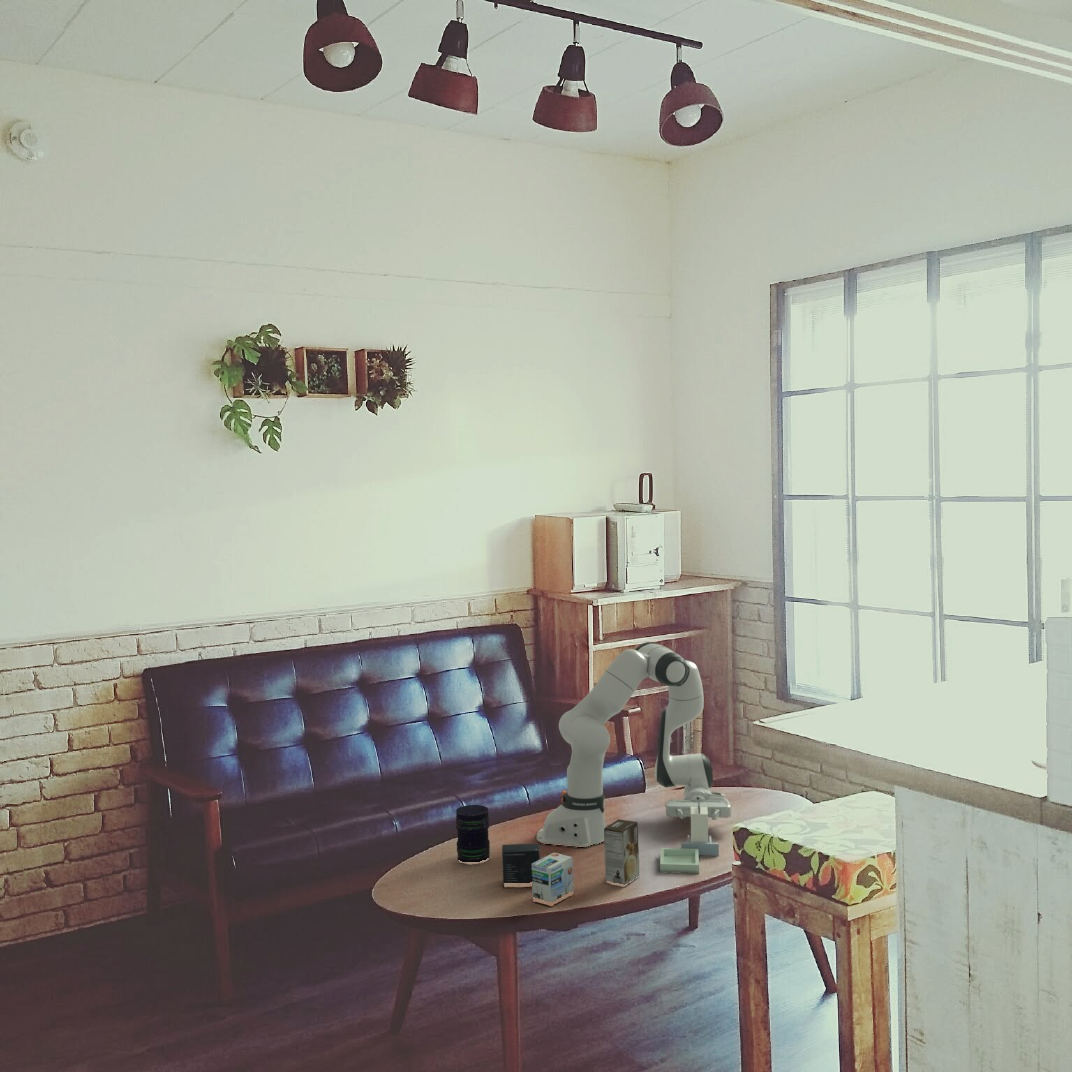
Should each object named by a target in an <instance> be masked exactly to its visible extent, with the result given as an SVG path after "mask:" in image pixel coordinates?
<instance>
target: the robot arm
mask: <svg viewBox="0 0 1072 1072" xmlns="http://www.w3.org/2000/svg"><path fill="white" fill-rule="evenodd" d="M647 678H648V679H650V680H651V681H652V680H653V681H654V682H656V683H660V684H661V685H663V686H667V687H668V704H667V706H666V708H665V709H663V710H662V711H661V714H660V719H659V728H658V736H657V737H658V739H657V740H658V741H657V756H656V761H655V765H654V777H655V780H656V782H657V783H658V784H659V785H661V786H662V787H664V788H673V787H676V786H684V790H683V799H680V798H679V799H678V798H672V799H669V800H667V802H664V807H665V815H666V817H669V818H670V817H673V818H674V817H675V818H680V820H686V818H691V807H698V802H700V807H707V810H708V818H711V820H712V821H713V820H717V819H719V818H721V819H722V818H724V819H725V818H727V819H728V818H729V819H730V817H731V816H732V809H731V808H732V807H731V803H730V801H729V800H728V799H727V798H726V795H725V793H722V792H715V791H711V790H710V789H711V787H712V786H713V784H714V774H713V767H712V763H711V760H710V758H709V757H707V755H706V754H704V753H689V754H682V755H681V754H679V755H671V754H670V749H671V748H670V747H671V737H672V734H673V733H674V731H676V730H678V728H681V727H683V726H684V725H687V724H689V723H691V722H693V721H694V720H696V719H697V718H698V717H699V716H700V715H701V713H702V712H703V710H704V708H705V707H704V705H705V701H704V699H705V698H704V688H703V683H702V678H701V673H700V672H699V668H698V666H697V664H696V663H695V662H693V661H690V660H687V659H684V658H683V656H682V655H680V654H679V653H677V652H674V651H673V650H671V649H670V648H668V646H664V645H662V644H659V643H656V642H653V641H647V642H642V643H641V644H639V645H638V646H637V647H635V648H633V649H632V648H626V649H624V650H623V651H621V652H620V653H619V655H618V656H616V657H615V659H613V661H612V662H611V663H610V664H609V666H608V667H607V668H606V670H605V671H604V672H603V674H601V676H600V677H599V679H598V681H597V682H596V683H595V685H594V686H593V687H592V689H591V690H590V691H589V693H588V694H587V695H586V696H584V698H582V699H581V700H580V701H579V702H578V703H577V704H576V705H574V707H573V708H571V709H570V710H568V711H566V712H564V713H563V714H562V715H561V717H560V719H559V721H558V730H559V732H560V736H561V737H562V738H563V740H564V741H565V742H566V743H568V744H569V745H570V747H571V757H570V762H569V765H568V766H567V769H566V782H567V783H566V785H567V786H566V787H567V789H566V790H562V791H561V793H560V803H561V804H560V805H559V806H558V807H556V808H555V809H554V810H552V811H551V812H549V814H548V815H547V816H546V817H545V820H544V823H543V827H542V828H541V829H540V830H538V832H537V834H536V841H537V840H538V841H540V842H542V843H547V844H562V845H571V846H582V847H586V846H589V847H591V846H590V845H591V844H595V845H600V844H602V843H601V842H603V841H604V828H606V827H607V825H606V819H605V808H606V803H605V802H606V801H605V800H606V799H605V798H606V797H605V792H604V791H603V790H604V789H603V788H604V785H603V783H604V781H603V778H604V777H603V771H604V770H603V769H604V767H603V766H604V761H605V756H606V751H607V750H608V749H609V747H610V743H611V736H610V732H609V729H607V727H606V725H604V724H606V723H607V721H609V720H610V719H611V718H612V717H614V716H615V715H617V714H619V713H621V711H622V710H623V709H624V707H625V706H626V704H627V703H628V701H629V700H630V699H631V698H632V696H633V694H635V691H636V690H637V688H638V687H639V686H640V684H641V683H642V681H644V680H646V679H647ZM599 843H600V844H599ZM603 843H604V842H603Z"/></svg>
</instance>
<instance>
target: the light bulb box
mask: <svg viewBox="0 0 1072 1072" xmlns="http://www.w3.org/2000/svg"><path fill="white" fill-rule="evenodd" d="M531 888H532V890H531V891H532V898H533V897H535V898H538V899H541V900H544V901H547V902H554V901H556V900H557V899H559V898H561V897H563V896H564V895H566V894H568V893H569V892H572V891H573V892H574V857H573V856H569V855H565V854H561V853H558V852H553V853H550V854H548V855H545V856H544V857H541V858H540V860H538V861H536V862H534V863H532V887H531Z"/></svg>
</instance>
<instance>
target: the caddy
mask: <svg viewBox="0 0 1072 1072" xmlns="http://www.w3.org/2000/svg"><path fill="white" fill-rule="evenodd" d="M690 842H694V843H709V817H708V810H707V807H700V802H698V807H691V817H690Z"/></svg>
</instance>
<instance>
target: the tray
mask: <svg viewBox="0 0 1072 1072" xmlns="http://www.w3.org/2000/svg"><path fill="white" fill-rule="evenodd" d="M699 856H700V855H699V853H698V849H683V848H681V847H680V848H679V847H678V848H677V847H676V848H675V847H673V848H671V847H661V848H660V859H659V862H660V863H659V868H660V869H659V871H660V872H669V873H668V874H672V873H671V872H675V873H674V874H677V873H676V872H681V873H680V874H700V860H699V859H700V858H699Z"/></svg>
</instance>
